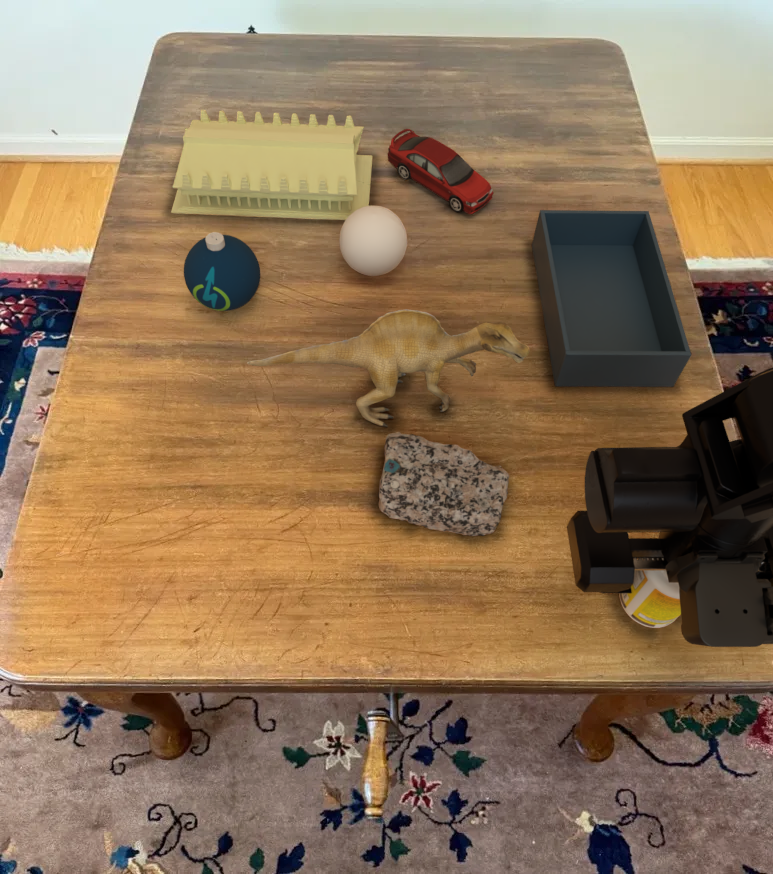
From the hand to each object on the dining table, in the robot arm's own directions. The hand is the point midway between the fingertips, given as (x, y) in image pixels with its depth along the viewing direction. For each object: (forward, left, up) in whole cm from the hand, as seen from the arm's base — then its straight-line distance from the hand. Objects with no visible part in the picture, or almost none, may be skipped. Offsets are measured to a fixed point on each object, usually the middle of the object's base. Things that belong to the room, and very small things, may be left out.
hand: (657, 589), depth 66 cm
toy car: (+35, -48, -3) cm, 60 cm away
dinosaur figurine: (+30, -13, -3) cm, 33 cm away
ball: (+38, -31, -3) cm, 49 cm away
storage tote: (+11, -33, -3) cm, 35 cm away
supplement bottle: (0, 0, -3) cm, 3 cm away
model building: (+55, -41, -3) cm, 69 cm away
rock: (+21, -4, -3) cm, 22 cm away
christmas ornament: (+52, -20, -3) cm, 56 cm away
